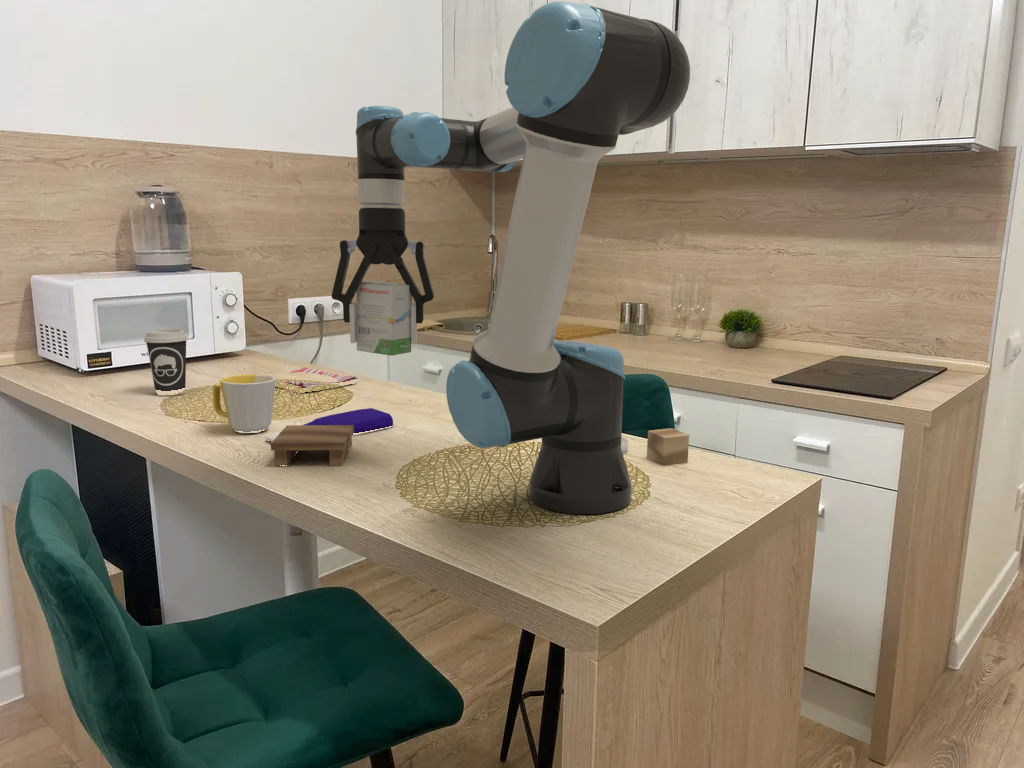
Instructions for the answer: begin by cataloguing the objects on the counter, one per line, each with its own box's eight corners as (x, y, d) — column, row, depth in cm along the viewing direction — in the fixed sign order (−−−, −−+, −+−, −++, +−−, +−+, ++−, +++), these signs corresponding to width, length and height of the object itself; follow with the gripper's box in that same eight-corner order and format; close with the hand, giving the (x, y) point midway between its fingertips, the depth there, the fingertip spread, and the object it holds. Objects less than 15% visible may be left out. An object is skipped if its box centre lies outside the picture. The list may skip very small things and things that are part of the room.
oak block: (687, 463, 132) (689, 435, 131) (663, 466, 130) (664, 438, 129) (670, 455, 136) (671, 428, 135) (646, 458, 134) (647, 430, 133)
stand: (345, 465, 128) (344, 442, 127) (272, 466, 127) (270, 443, 127) (354, 446, 140) (354, 424, 139) (287, 446, 139) (286, 425, 138)
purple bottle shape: (368, 406, 161) (256, 427, 144) (398, 415, 153) (283, 438, 137) (369, 419, 161) (257, 442, 145) (398, 429, 153) (284, 454, 137)
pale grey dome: (632, 458, 135) (632, 447, 135) (581, 458, 134) (582, 447, 134) (621, 444, 144) (622, 434, 143) (574, 444, 143) (574, 434, 143)
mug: (289, 429, 151) (286, 377, 149) (244, 440, 143) (241, 385, 141) (246, 419, 159) (243, 369, 157) (202, 429, 151) (198, 377, 149)
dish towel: (303, 396, 183) (302, 382, 183) (249, 384, 198) (248, 370, 197) (359, 386, 196) (359, 372, 196) (305, 375, 211) (304, 362, 210)
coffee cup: (200, 392, 185) (196, 330, 182) (164, 399, 177) (159, 334, 174) (176, 387, 190) (171, 327, 187) (140, 394, 182) (134, 331, 179)
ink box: (355, 351, 131) (353, 281, 128) (376, 347, 135) (375, 279, 133) (393, 356, 126) (392, 284, 124) (414, 352, 130) (413, 282, 128)
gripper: (450, 208, 130) (450, 339, 134) (318, 206, 129) (322, 338, 133) (448, 207, 122) (448, 346, 127) (308, 205, 121) (313, 345, 126)
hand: (384, 342), depth 130 cm, fingers closed on ink box, 9 cm apart
